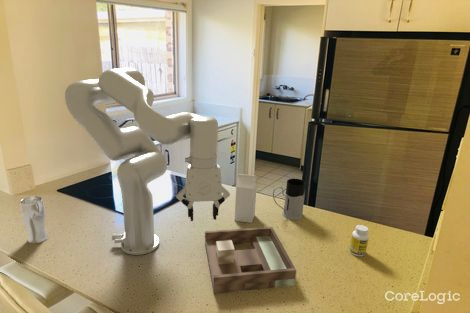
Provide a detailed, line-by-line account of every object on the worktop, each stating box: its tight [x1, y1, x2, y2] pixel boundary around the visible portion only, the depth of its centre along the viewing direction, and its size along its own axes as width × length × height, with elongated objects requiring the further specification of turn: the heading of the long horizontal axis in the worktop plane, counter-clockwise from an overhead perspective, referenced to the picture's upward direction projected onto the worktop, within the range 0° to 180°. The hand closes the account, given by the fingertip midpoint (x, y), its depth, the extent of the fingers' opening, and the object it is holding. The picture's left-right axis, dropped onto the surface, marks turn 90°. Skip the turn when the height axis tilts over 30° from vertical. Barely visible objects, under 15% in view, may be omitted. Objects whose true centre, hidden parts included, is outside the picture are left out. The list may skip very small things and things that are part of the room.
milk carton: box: [234, 173, 258, 224], centre depth 130 cm, size 7×7×19 cm
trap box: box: [204, 226, 297, 295], centre depth 104 cm, size 24×24×6 cm
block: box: [216, 240, 235, 264], centre depth 102 cm, size 5×5×5 cm
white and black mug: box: [272, 178, 307, 221], centre depth 134 cm, size 9×14×15 cm, turn 107°
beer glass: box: [19, 195, 49, 245], centre depth 111 cm, size 7×7×15 cm
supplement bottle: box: [348, 224, 370, 257], centre depth 112 cm, size 5×5×10 cm
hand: (203, 217), depth 97 cm, fingers open, 6 cm apart
